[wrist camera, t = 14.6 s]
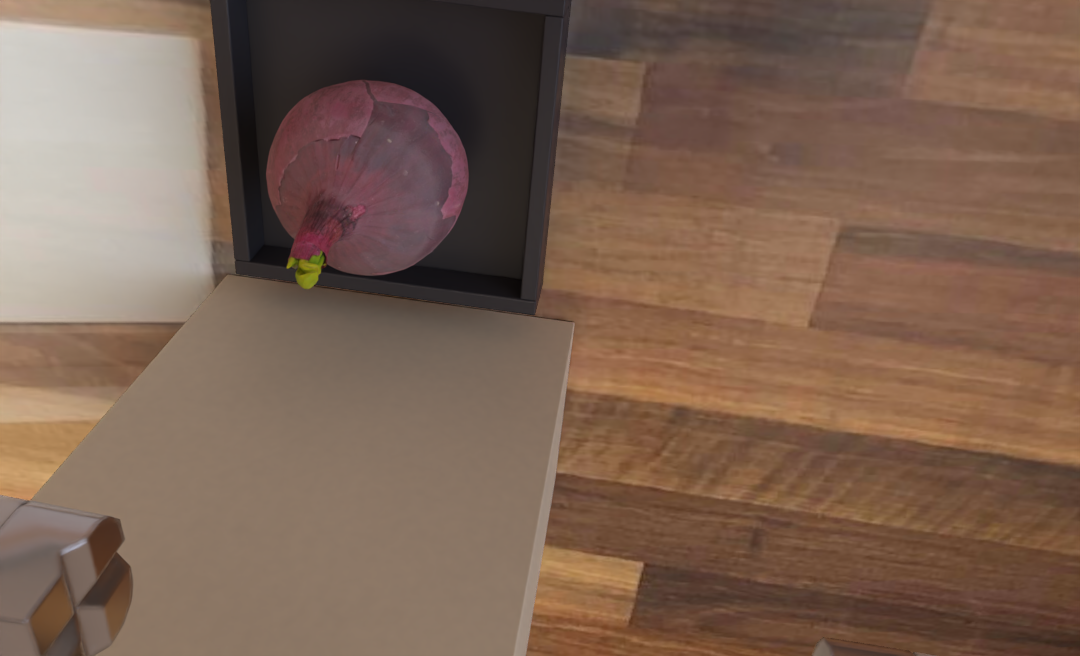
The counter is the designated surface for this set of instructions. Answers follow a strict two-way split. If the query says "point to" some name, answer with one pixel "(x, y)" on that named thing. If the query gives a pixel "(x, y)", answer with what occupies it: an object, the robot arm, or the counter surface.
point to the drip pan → (439, 76)
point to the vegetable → (365, 179)
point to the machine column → (330, 476)
